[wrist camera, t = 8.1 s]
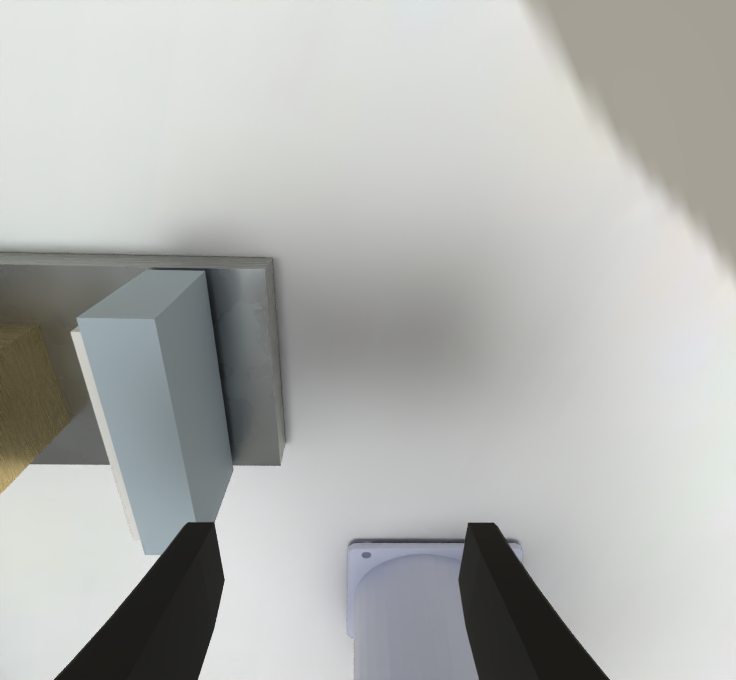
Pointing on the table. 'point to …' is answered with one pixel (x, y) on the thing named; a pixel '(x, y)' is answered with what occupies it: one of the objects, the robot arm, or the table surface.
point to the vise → (230, 325)
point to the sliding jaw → (158, 401)
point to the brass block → (26, 400)
